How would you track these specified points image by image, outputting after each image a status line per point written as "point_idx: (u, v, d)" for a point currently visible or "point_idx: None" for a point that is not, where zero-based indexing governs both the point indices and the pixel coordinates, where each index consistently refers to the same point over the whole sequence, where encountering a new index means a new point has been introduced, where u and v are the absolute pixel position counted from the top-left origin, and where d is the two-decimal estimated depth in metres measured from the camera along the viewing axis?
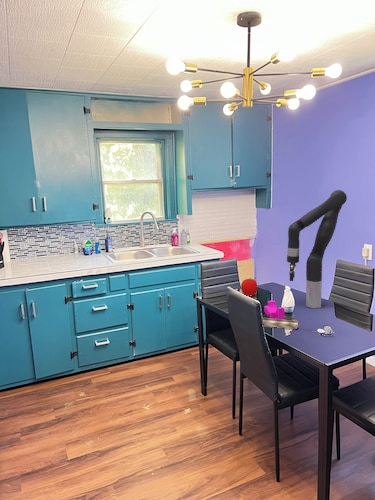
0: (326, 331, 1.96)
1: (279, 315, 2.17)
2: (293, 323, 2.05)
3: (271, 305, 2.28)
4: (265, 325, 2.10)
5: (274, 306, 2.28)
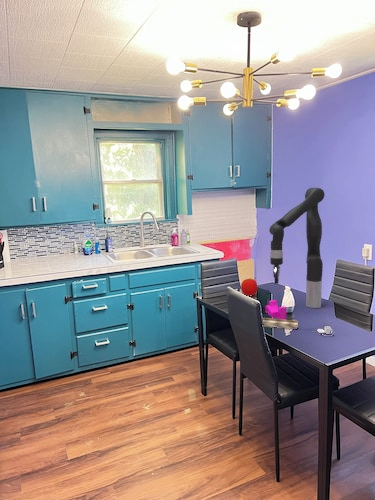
0: (326, 331, 1.96)
1: (281, 315, 2.18)
2: (293, 323, 2.05)
3: (272, 305, 2.29)
4: (265, 325, 2.10)
5: (275, 306, 2.29)
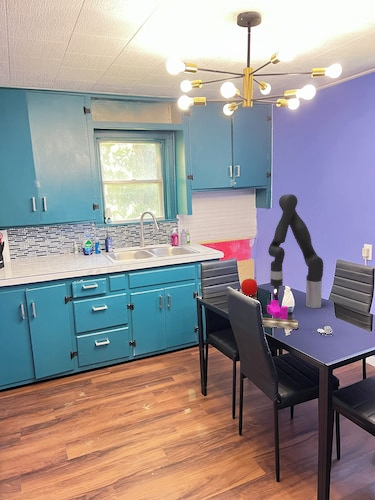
0: (326, 331, 1.96)
1: (283, 314, 2.19)
2: (293, 323, 2.05)
3: (274, 304, 2.29)
4: (265, 325, 2.10)
5: (277, 305, 2.29)
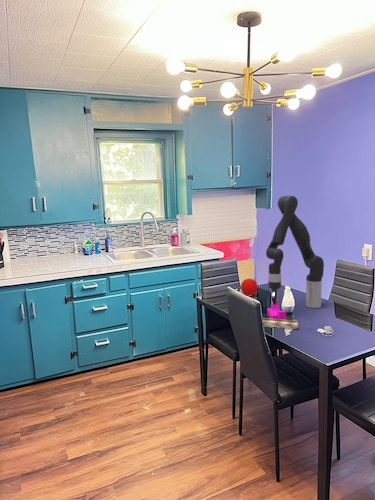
0: (326, 331, 1.96)
1: None
2: (293, 323, 2.05)
3: (274, 308, 2.24)
4: (265, 325, 2.10)
5: (277, 309, 2.24)
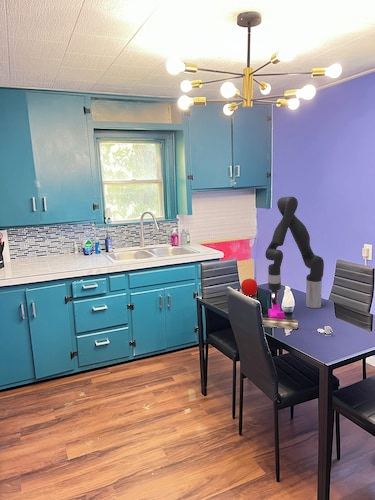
0: (326, 331, 1.96)
1: None
2: (293, 323, 2.05)
3: (274, 308, 2.22)
4: (265, 325, 2.10)
5: (277, 310, 2.21)
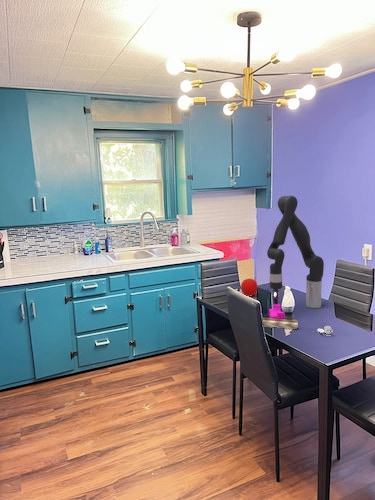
0: (326, 331, 1.96)
1: None
2: (293, 323, 2.05)
3: (275, 309, 2.22)
4: (265, 325, 2.10)
5: (278, 310, 2.21)
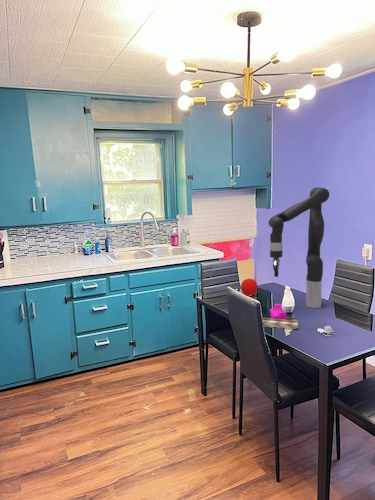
0: (326, 331, 1.96)
1: None
2: (293, 323, 2.05)
3: (276, 308, 2.22)
4: (265, 325, 2.10)
5: (279, 310, 2.22)
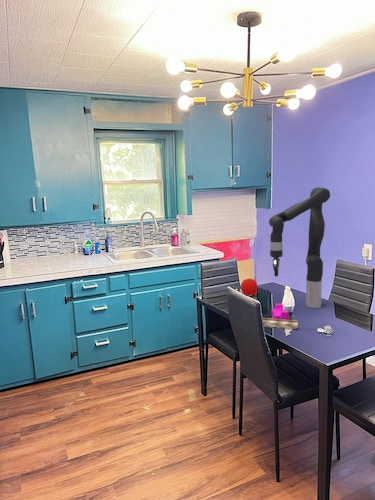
0: (326, 331, 1.96)
1: None
2: (293, 323, 2.05)
3: (278, 308, 2.22)
4: (265, 325, 2.10)
5: (281, 309, 2.22)
